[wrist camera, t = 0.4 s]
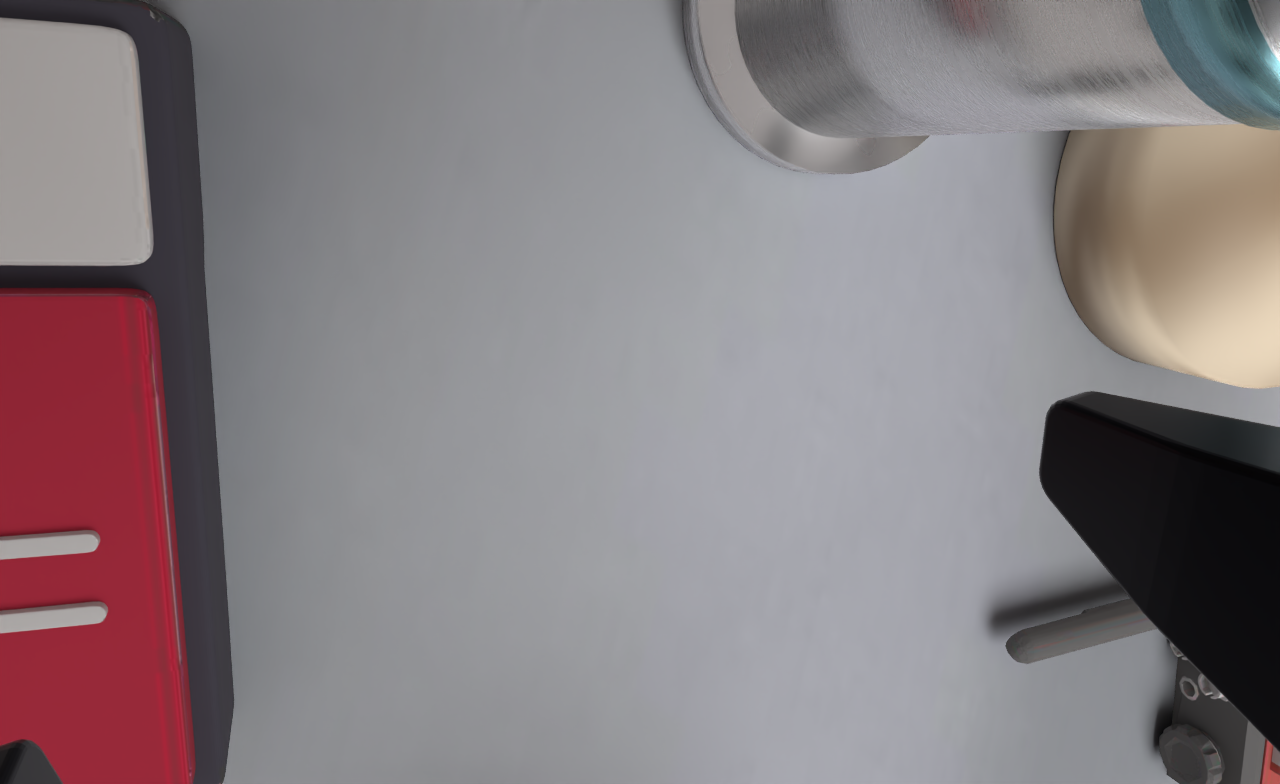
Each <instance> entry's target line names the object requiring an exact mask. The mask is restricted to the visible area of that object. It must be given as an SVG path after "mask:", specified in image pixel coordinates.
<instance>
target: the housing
mask: <svg viewBox="0 0 1280 784" xmlns="http://www.w3.org/2000/svg"><path fill="white" fill-rule="evenodd" d="M683 26H684V34H685V43H686V47H687V52H688V56H689V60H690V64H691V67H692V70H693V73H694V76H695V78H696V81H697V84H698V86H699V88H700V90H701V92H702V94H703V96H704V98H705V100H706V102H707V104H708V106H709V107H710V109H711V110H712V112H713V113H714V115H715V116H716V117H717V119H718V120H719V122H720V123H721V124H722V125H723V126H724V127H725V129H726V130H727V131H728V132H729V133H730V134H731V135H732V136H733V137H734V138H735V139H736V140H737V141H738V142H740V143H741V144H742V145H743V146H744V147H745V148H746V149H748V150H749V151H751V152H753V153H754V154H756V155H757V156H759V157H760V158H762V159H764V160H766V161H768V162H770V163H773V164H775V165H777V166H779V167H783V168H786V169H790V170H793V171H798V172H806V173H816V174H853V173H858V172H864V171H870V170H873V169H876V168H879V167H882V166H885V165H887V164H889V163H891V162H893V161H895V160H897V159H899V158H901V157H903V156H905V155H906V154H908V153H909V152H910V151H912V150H913V149H915V148H916V147H918V146H919V145H920V144H921V143H922V142H923V141H925V140H926V139H927V138H928V137H929V136H930V135H955V134H982V133H1010V132H1037V131H1064V130H1092V129H1119V128H1146V127H1174V126H1201V125H1228V124H1244V125H1247V126H1250V127H1255V128H1261V129H1266V130H1280V0H683Z"/></svg>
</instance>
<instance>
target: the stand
mask: <svg viewBox="0 0 1280 784" xmlns="http://www.w3.org/2000/svg"><path fill="white" fill-rule="evenodd" d="M1054 237H1055V245H1056V253H1057V259H1058V263H1059V268H1060V272H1061V276H1062V280H1063V282H1064V285H1065V288H1066V290H1067V293H1068V295H1069V298H1070V300H1071V302H1072V304H1073V306H1074V307H1075V309H1076V311H1077V313H1078V315H1079V317H1080V318H1081V319H1082V321H1083V322H1084V323H1085V325H1086V326H1087V327H1088V328H1089V330H1090V331H1091V332H1092V333H1093V334H1094V335H1095V336H1096V337H1097V338H1098V339H1099V340H1100V341H1101V342H1102V343H1103V344H1104V345H1106V346H1107V347H1109V348H1110V349H1112V350H1113V351H1115V352H1116V353H1118V354H1120V355H1122V356H1124V357H1127V358H1129V359H1131V360H1133V361H1137V362H1141V363H1145V364H1149V365H1153V366H1157V367H1161V368H1165V369H1169V370H1173V371H1177V372H1181V373H1185V374H1189V375H1194V376H1198V377H1202V378H1206V379H1210V380H1214V381H1218V382H1222V383H1226V384H1230V385H1234V386H1238V387H1243V388H1259V389H1262V388H1271V387H1279V386H1280V130H1266V129H1261V128H1255V127H1250V126H1247V125H1244V124H1228V125H1201V126H1174V127H1146V128H1119V129H1092V130H1071V131H1070V134H1069V136H1068V140H1067V143H1066V146H1065V149H1064V153H1063V156H1062V159H1061V164H1060V169H1059V174H1058V179H1057V184H1056V194H1055V205H1054Z"/></svg>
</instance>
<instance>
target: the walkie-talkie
mask: <svg viewBox="0 0 1280 784" xmlns="http://www.w3.org/2000/svg"><path fill="white" fill-rule="evenodd" d="M1154 629H1157V628H1156V626H1155V625H1154V624H1153V623H1152V622H1151V621H1150V620H1149V619H1148V618H1147V617H1146V616H1145V615H1144V614H1143V612H1142V611H1141V610H1140V609H1139V608H1138V607H1137V605H1136V604H1135V603H1134V602H1133V601H1132V600H1131V598H1130V599H1126V600H1122V601H1118V602H1115V603H1111V604H1107V605H1103V606H1099V607H1095V608H1091V609H1087V610H1084V611H1083V612H1082V613H1081V614H1080V615H1076V616H1072V617H1068V618H1065V619H1061V620H1057V621H1053V622H1050V623H1046V624H1042V625H1039V626H1035V627H1031V628H1027V629H1024V630H1021V631H1019V632H1017V633H1016V634H1014V635H1013V636H1011V637H1010V638H1009V640H1008V641H1007V642H1006V649H1007V651H1008V653H1009V654H1010V656H1011V657H1012V658H1013V659H1014V660H1016V661H1017V662H1020V663H1025V664H1029V663H1032V662H1036V661H1040V660H1043V659H1047V658H1051V657H1054V656H1058V655H1062V654H1065V653H1069V652H1073V651H1076V650H1080V649H1084V648H1087V647H1091V646H1095V645H1098V644H1102V643H1106V642H1109V641H1113V640H1117V639H1120V638H1124V637H1128V636H1132V635H1135V634H1139V633H1143V632H1146V631H1150V630H1154ZM1170 646H1171V649H1172V651H1173V653H1174V654H1175V655H1176V656H1177V657H1178V664H1177V674H1176V685H1175V695H1174V706H1173V716H1172V725H1171V726H1169V727H1167V728H1166V729H1164V732H1163V734H1161V735H1160V738H1159V748H1160V753H1161V756H1162V759H1163V763H1164V765H1165V767H1166V768H1167V775H1168V776H1170V777H1171V778H1172V779H1174V780H1175V781H1177V782H1178V783H1179V784H1280V753H1279V752H1278V751H1277V750H1276V749H1275V747H1274V746H1273V745H1272V744H1271V743H1270V742H1269V741H1268V740H1267V739H1266V738H1265V737H1264V736H1263V735H1262V734H1261V733H1260V732H1259V731H1258V730H1257V729H1256V728H1255V727H1254V726H1253V725H1252V724H1251V723H1250V722H1249V721H1248V720H1247V719H1246V718H1245V717H1244V716H1243V715H1242V714H1241V713H1240V712H1239V711H1238V710H1237V709H1236V708H1235V707H1234V706H1233V705H1232V704H1231V703H1230V702H1229V701H1228V700H1227V699H1226V698H1225V697H1224V696H1223V695H1222V694H1221V693H1220V692H1219V691H1218V690H1217V689H1216V688H1215V687H1214V686H1213V685H1212V684H1211V683H1210V682H1209V681H1208V680H1207V679H1206V678H1205V677H1204V675H1203V674H1202V673H1201V672H1200V671H1199V670H1198V669H1197V668H1196V667H1195V666H1194V665H1193V664H1192V663H1191V662H1190V661H1189V660H1188V659H1187V658H1186V657H1185V656H1184V655H1183V654H1182V653H1181V652H1180V651H1179V650H1178V649H1177V648H1176V647H1175V646H1174V645H1173V644H1172V643H1171V642H1170Z"/></svg>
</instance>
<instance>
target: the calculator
mask: <svg viewBox="0 0 1280 784" xmlns="http://www.w3.org/2000/svg"><path fill="white" fill-rule="evenodd" d="M233 708H234V693H233V678H232V662H231V647H230V631H229V616H228V601H227V586H226V571H225V556H224V542H223V527H222V513H221V499H220V485H219V471H218V457H217V442H216V428H215V414H214V400H213V386H212V372H211V358H210V343H209V329H208V315H207V301H206V287H205V272H204V231H203V212H202V196H201V181H200V165H199V150H198V134H197V119H196V104H195V88H194V73H193V59H192V48H191V41H190V37H189V35H188V33H187V31H186V30H185V28H184V27H183V26H182V25H181V24H180V23H179V22H177V21H176V20H175V19H173V18H172V17H170V16H168V15H167V14H165V13H163V12H162V11H160V10H158V9H157V8H155V7H153V6H151V5H149V4H147V3H145V2H142V1H138V0H0V745H3V744H6V743H10V742H13V741H16V740H20V739H25V740H31V741H33V742H34V743H36V744H37V745H38V746H39V747H40V748H41V749H42V751H43V752H44V754H45V755H46V757H47V758H48V760H49V762H50V763H51V765H52V766H53V768H54V770H55V771H56V773H57V774H58V776H59V777H60V779H61V781H62V782H63V784H222V783H223V781H224V777H225V772H226V764H227V756H228V748H229V740H230V732H231V725H232V717H233Z"/></svg>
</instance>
